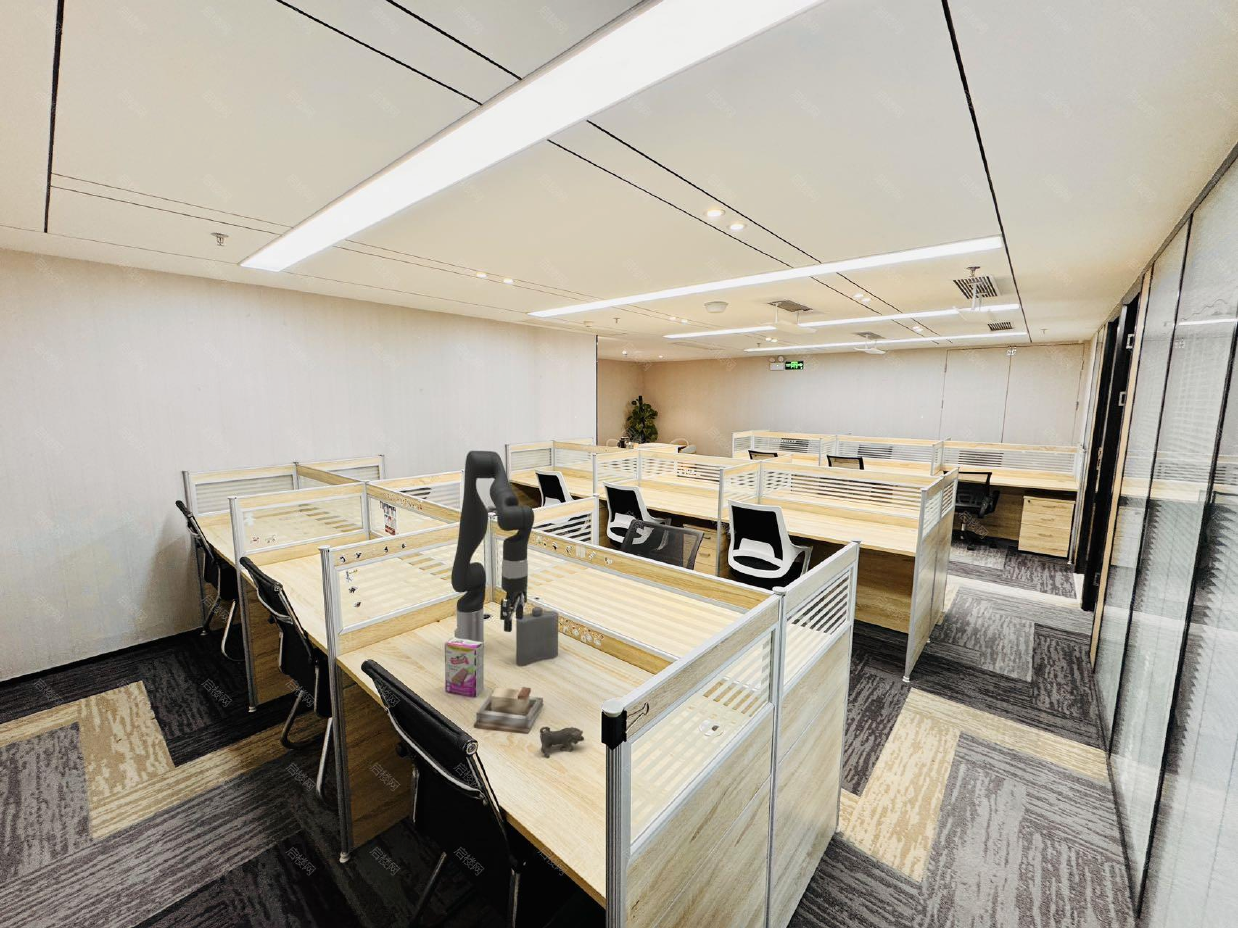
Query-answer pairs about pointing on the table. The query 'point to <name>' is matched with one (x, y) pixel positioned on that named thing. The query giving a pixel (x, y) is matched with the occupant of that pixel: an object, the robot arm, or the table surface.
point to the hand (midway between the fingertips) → (513, 624)
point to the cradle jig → (508, 717)
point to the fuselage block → (511, 701)
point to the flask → (536, 637)
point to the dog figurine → (559, 738)
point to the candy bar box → (464, 667)
